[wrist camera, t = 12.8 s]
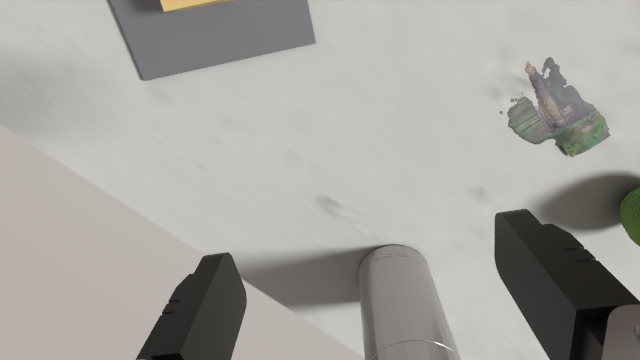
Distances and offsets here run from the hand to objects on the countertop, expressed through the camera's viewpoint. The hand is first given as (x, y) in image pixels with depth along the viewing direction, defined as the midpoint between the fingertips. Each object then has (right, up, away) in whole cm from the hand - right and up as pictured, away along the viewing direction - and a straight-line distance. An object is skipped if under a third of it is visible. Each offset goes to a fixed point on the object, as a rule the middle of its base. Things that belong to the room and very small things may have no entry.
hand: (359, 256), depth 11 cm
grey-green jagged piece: (+20, +12, +25) cm, 34 cm away
